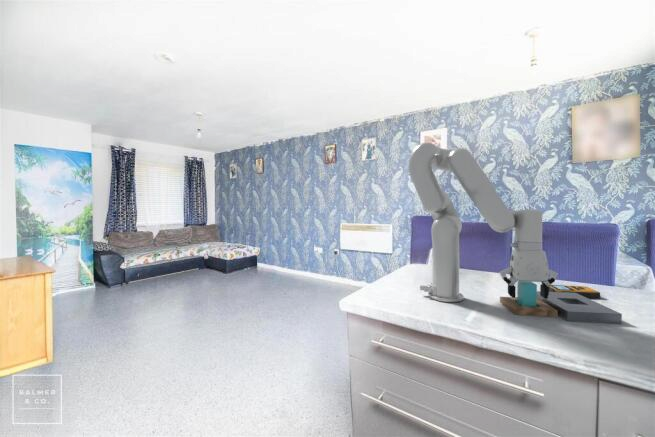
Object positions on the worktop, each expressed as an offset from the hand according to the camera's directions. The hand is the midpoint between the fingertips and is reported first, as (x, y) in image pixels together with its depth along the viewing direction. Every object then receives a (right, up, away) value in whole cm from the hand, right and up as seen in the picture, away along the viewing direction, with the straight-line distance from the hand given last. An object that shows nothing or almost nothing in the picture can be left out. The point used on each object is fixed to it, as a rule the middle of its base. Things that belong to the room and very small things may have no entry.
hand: (527, 296), depth 96 cm
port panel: (+14, -4, -1) cm, 14 cm away
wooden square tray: (0, -4, 0) cm, 4 cm away
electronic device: (+27, -4, +15) cm, 31 cm away
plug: (0, -4, 0) cm, 4 cm away
